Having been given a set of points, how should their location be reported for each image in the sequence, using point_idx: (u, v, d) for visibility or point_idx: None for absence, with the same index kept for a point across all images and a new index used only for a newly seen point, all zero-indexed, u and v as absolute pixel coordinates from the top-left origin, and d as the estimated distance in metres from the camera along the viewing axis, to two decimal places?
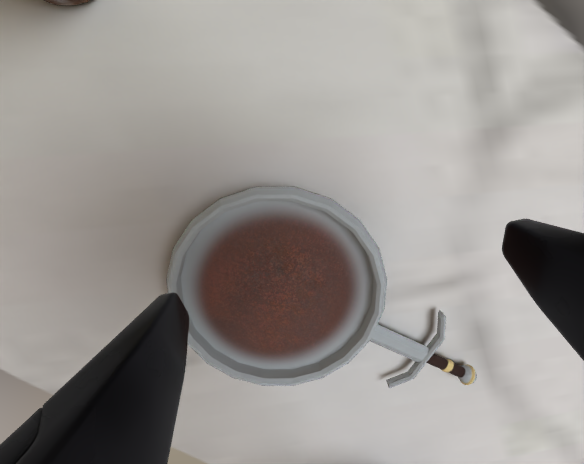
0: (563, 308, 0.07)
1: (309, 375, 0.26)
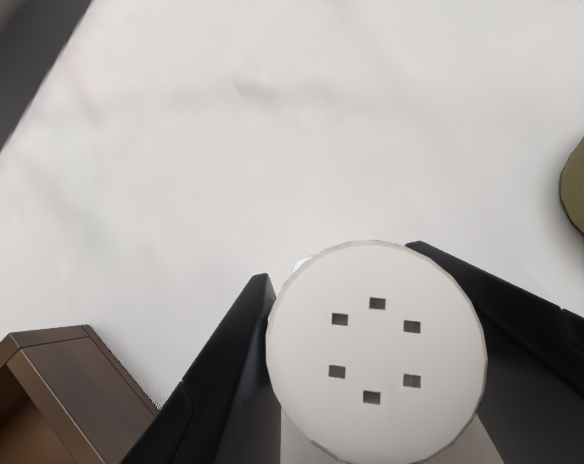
0: None
1: None
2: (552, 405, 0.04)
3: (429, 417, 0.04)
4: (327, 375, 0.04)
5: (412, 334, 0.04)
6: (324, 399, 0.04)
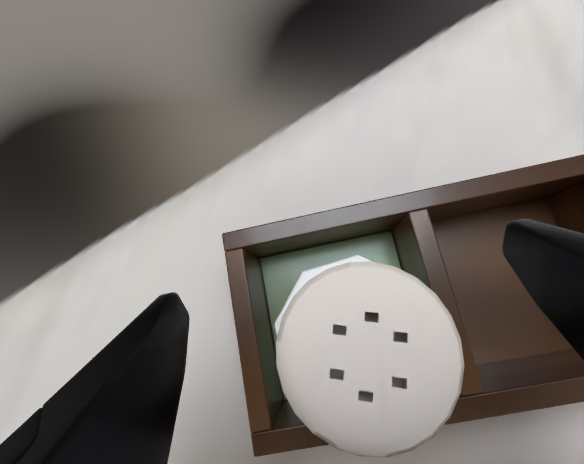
0: (563, 308, 0.07)
1: None
2: None
3: (413, 413, 0.04)
4: (328, 377, 0.04)
5: (400, 343, 0.04)
6: (325, 397, 0.04)
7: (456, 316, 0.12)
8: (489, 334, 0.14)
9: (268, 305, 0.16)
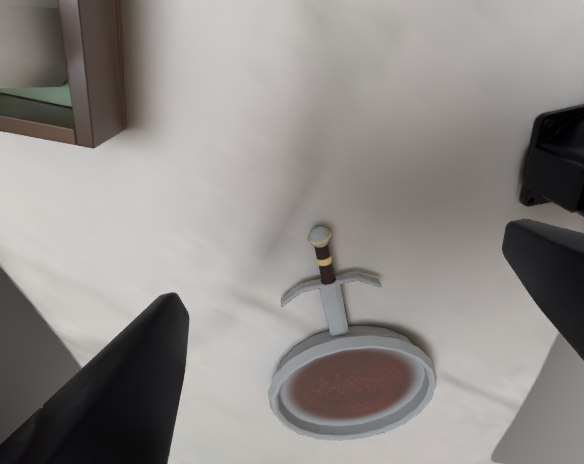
0: (563, 308, 0.07)
1: (403, 353, 0.27)
2: None
3: None
4: None
5: None
6: None
7: None
8: None
9: (16, 95, 0.17)
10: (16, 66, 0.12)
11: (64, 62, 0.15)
